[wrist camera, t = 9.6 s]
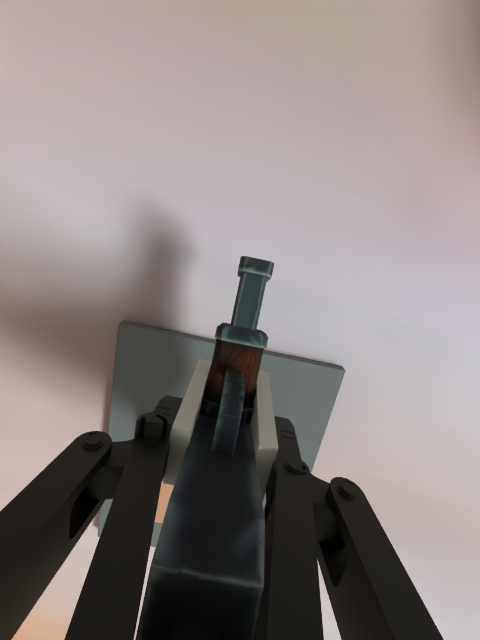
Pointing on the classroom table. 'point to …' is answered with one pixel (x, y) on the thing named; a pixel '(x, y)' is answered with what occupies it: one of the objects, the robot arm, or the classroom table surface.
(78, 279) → the classroom table surface
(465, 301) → the classroom table surface
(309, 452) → the mat
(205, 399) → the gun
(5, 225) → the classroom table surface
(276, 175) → the classroom table surface
